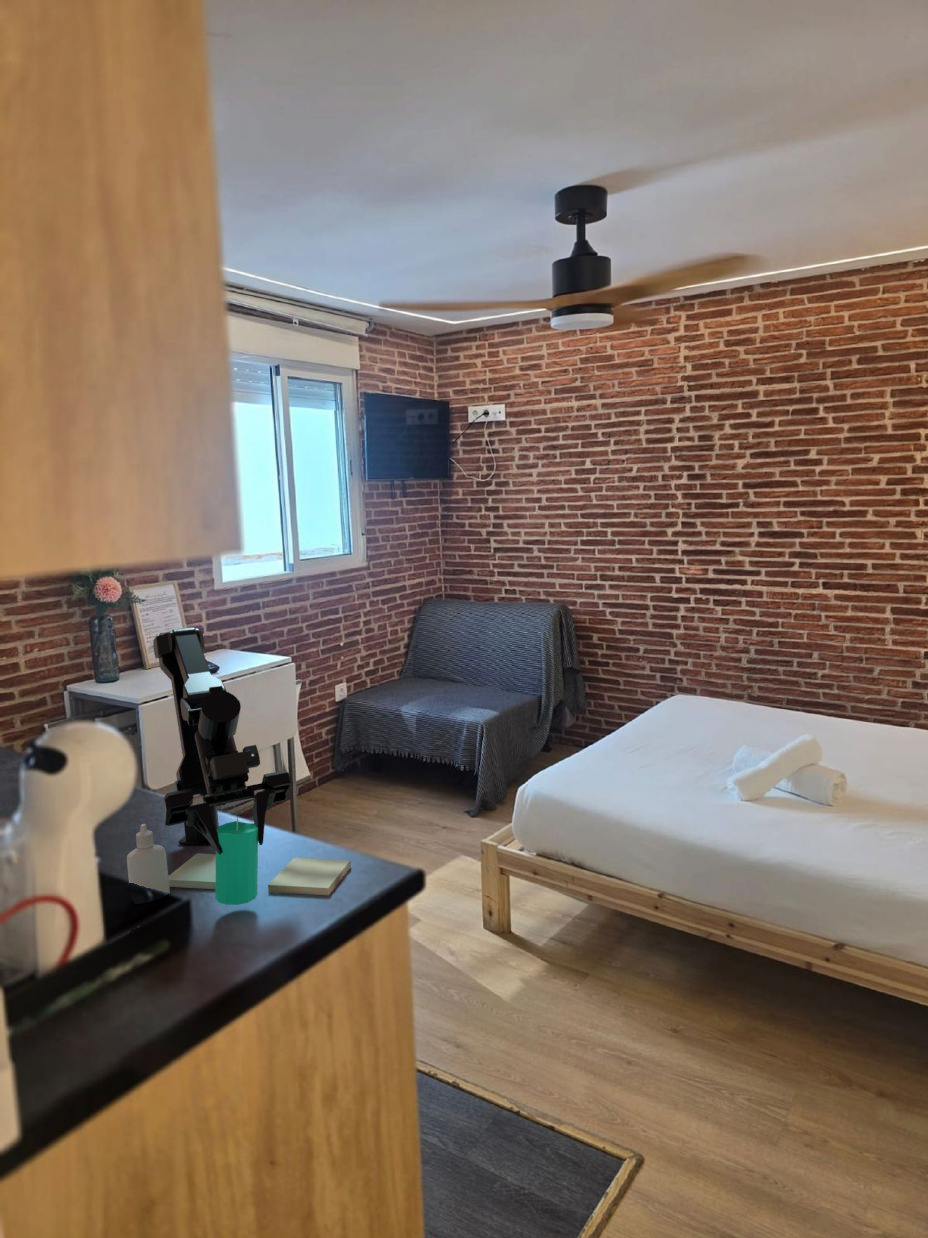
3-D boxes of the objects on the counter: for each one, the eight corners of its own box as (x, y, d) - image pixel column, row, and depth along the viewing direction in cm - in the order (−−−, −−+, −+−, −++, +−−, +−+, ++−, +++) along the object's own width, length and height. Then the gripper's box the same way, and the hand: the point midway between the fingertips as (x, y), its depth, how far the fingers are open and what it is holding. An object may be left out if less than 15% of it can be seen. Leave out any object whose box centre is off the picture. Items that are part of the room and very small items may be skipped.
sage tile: (197, 860, 142) (196, 853, 142) (250, 862, 140) (250, 856, 139) (165, 886, 132) (164, 879, 132) (221, 889, 130) (221, 882, 130)
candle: (245, 907, 118) (246, 826, 117) (207, 902, 120) (208, 821, 119) (264, 890, 124) (265, 813, 123) (227, 886, 125) (228, 809, 124)
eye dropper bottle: (136, 893, 130) (128, 821, 128) (172, 890, 131) (165, 818, 129) (128, 906, 126) (119, 831, 124) (165, 903, 126) (158, 828, 125)
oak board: (294, 864, 138) (294, 858, 138) (350, 867, 136) (350, 860, 136) (268, 892, 128) (268, 885, 128) (328, 895, 126) (328, 888, 126)
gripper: (158, 740, 118) (177, 839, 110) (285, 719, 127) (312, 810, 119) (155, 778, 126) (173, 873, 118) (275, 756, 135) (299, 843, 127)
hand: (241, 848), depth 120 cm, fingers closed on candle, 6 cm apart
